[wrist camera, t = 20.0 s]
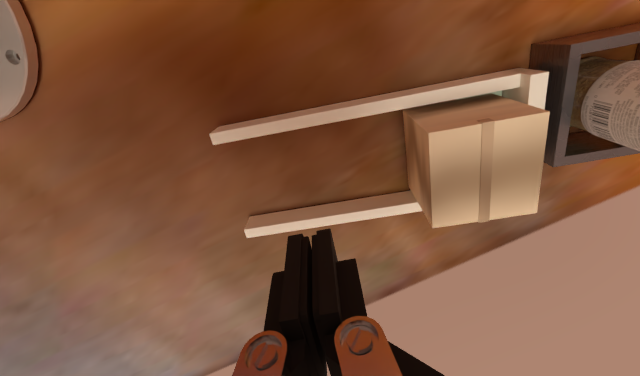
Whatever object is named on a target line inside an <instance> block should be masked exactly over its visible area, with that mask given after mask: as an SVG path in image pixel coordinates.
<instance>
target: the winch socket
mask: <svg viewBox="0 0 640 376" xmlns="http://www.w3.org/2000/svg"><path fill="white" fill-rule="evenodd" d="M636 43H638V48H637V52H636V56H635V60H640V22H639V23H634V24H629V25H624V26H619V27H614V28H609V29H604V30H599V31H594V32H589V33H584V34H579V35H575V36H570V37H565V38H560V39H555V40H550V41H545V42H540V43H535V44H531V55H530V65H529V69H533V70H541V71H548V72H549V77H548V85H547V93H546V102H545V110H547V111H550V115H549V122H548V130H547V138H546V145H545V153H544V161H543V162H545V163H547V164H548V165H550V166H552V167H557V166H564V165H570V164H576V163H582V162H588V161H594V160H601V159H607V158H613V157H619V156H625V155H631V154H638V153H640V151H638V150H635V149H632V148H629V147H626V146H623V145H621V144H618V143H615V142H612V141H609V140H606V139H603V138H601V137H598V136H595V135H593V134H591V133H589V132H588V131H583V132H577V133H571V134H568V133H569V127H570V121H571V115H572V108H573V102H574V96H575V90H576V84H577V77H578V71H579V65H580V59H581V54H585V53H590V52H595V51H600V50H605V49H610V48H616V47H621V46H626V45H631V44H636Z"/></svg>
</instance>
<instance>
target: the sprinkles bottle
mask: <svg viewBox="0 0 640 376" xmlns="http://www.w3.org/2000/svg"><path fill="white" fill-rule="evenodd" d="M570 126H573V127H576V128H579V129H582V130H585V131H588V132H589V133H591V134H593V135H595V136H598V137H601V138H603V139H606V140H609V141H612V142H615V143H618V144H621V145H623V146H626V147H629V148H632V149H635V150H638V151H640V60H635V61H629V60H628V61H625V60H609V59H605V58H601V57H588V58H584V59H581V60H580V65H579V71H578V77H577V84H576V90H575V96H574V102H573V108H572V115H571V121H570Z"/></svg>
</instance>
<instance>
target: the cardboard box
mask: <svg viewBox="0 0 640 376" xmlns="http://www.w3.org/2000/svg"><path fill="white" fill-rule="evenodd" d="M549 115H550V111H547V110H544V109H541V108H537V107H534V106H531V105H528V104H524V103H521V102H518V101H515V100H511V99H508V98H505V97H502V96H499V95H495V94H492V93H490V94H485V95H480V96H474V97H469V98H464V99H459V100H453V101H448V102H443V103H437V104H432V105H427V106H422V107H416V108H411V109H406V110H403V122H404V134H405V147H406V160H407V173H408V186H409V188H410V190H411V191H412V193H413V195H414V197H415V198H416V200H417V202H418V204H419V205H420V207H421V209H422V211H423V212H424V214H425V216H426V218H427V219H428V221H429V223H430V225H431V227H432V228H438V227H445V226H452V225H459V224H465V223H472V222H479V223H480V222H487V221H489V220H492V219H499V218H506V217H512V216H519V215H526V214H533V213H537V207H538V199H539V192H540V184H541V176H542V169H543V161H544V153H545V145H546V138H547V130H548V122H549Z"/></svg>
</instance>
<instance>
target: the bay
mask: <svg viewBox="0 0 640 376" xmlns="http://www.w3.org/2000/svg"><path fill="white" fill-rule="evenodd" d="M548 77H549V72H548V71H541V70H533V69H526V68H515V69H510V70H505V71H499V72H494V73H489V74H484V75H479V76H474V77H469V78H464V79H459V80H454V81H448V82H443V83H438V84H433V85H428V86H423V87H418V88H413V89H408V90H403V91H397V92H392V93H387V94H382V95H377V96H372V97H367V98H362V99H357V100H351V101H346V102H341V103H336V104H331V105H326V106H321V107H316V108H311V109H306V110H300V111H295V112H290V113H285V114H280V115H275V116H270V117H265V118H260V119H254V120H249V121H244V122H239V123H234V124H229V125H224V126H219V127H217V128H216V129H215V130H214V131H212V132H211V133H210V134H209V135H210V138H211V140H212V143H213V145H217V144H222V143H227V142H233V141H238V140H243V139H249V138H254V137H259V136H264V135H270V134H275V133H280V132H285V131H291V130H296V129H301V128H307V127H312V126H317V125H322V124H328V123H333V122H338V121H343V120H349V119H354V118H359V117H365V116H370V115H375V114H380V113H386V112H391V111H396V110H401V109H407V108H412V107H417V106H423V105H428V104H433V103H438V102H444V101H449V100H454V99H456V100H459V99H464V98H469V97H474V96H480V95H485V94H490V93H492V94H495V95H499V96H502V97H505V98H508V99H511V100H515V101H518V102H521V103H524V104H528V105H531V106H534V107H537V108H541V109H544V110H545V102H546V93H547V85H548ZM419 211H422V209H421V207H420V205H419V204H418V202H417V200H416V198H415V197H414V195H413V193H412V191H411V190H410V191H404V192H398V193H392V194H386V195H379V196H373V197H367V198H361V199H355V200H348V201H342V202H336V203H330V204H324V205H318V206H311V207H305V208H299V209H293V210H287V211H281V212H274V213H268V214H262V215H256V216H250V217H249V219H248V222H247V224H246V226H245V228H244V232H245V234H246V237H247V238H251V237H257V236H264V235H270V234H277V233H283V232H290V231H296V230H303V229H309V228H316V227H322V226H329V225H335V224H341V223H348V222H354V221H361V220H367V219H374V218H380V217H387V216H393V215H400V214H406V213H413V212H419Z"/></svg>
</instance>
